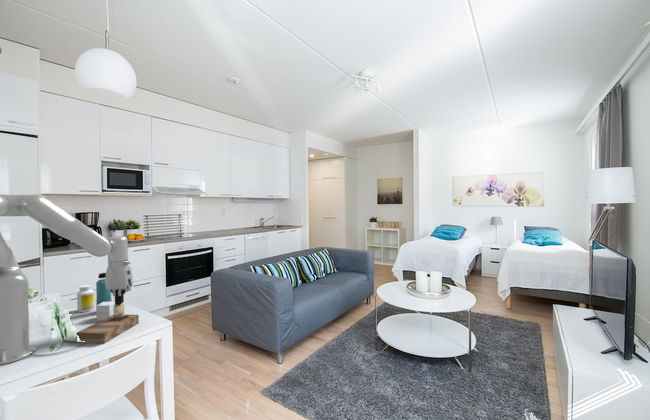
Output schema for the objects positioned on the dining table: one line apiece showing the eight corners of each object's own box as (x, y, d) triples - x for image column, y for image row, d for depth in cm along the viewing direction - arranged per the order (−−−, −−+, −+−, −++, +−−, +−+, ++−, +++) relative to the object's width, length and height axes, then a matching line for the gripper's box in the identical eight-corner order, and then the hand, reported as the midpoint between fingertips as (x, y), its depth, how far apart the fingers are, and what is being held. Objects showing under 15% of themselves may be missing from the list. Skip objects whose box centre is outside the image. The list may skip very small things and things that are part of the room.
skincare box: (116, 315, 150) (116, 300, 150) (109, 320, 144) (109, 305, 144) (103, 316, 150) (103, 301, 149) (96, 320, 143) (95, 305, 143)
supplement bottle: (97, 308, 160) (96, 284, 159) (84, 313, 153) (83, 288, 153) (87, 307, 161) (86, 283, 161) (74, 312, 155) (73, 287, 154)
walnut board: (104, 343, 121) (104, 333, 120) (76, 342, 121) (76, 332, 121) (138, 323, 141) (138, 314, 140) (114, 322, 141) (114, 314, 141)
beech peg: (120, 329, 134) (119, 306, 134) (111, 328, 134) (110, 306, 134) (126, 325, 138) (126, 303, 138) (118, 324, 139) (117, 303, 138)
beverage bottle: (103, 314, 152) (102, 275, 151) (92, 313, 153) (92, 274, 152) (115, 309, 158) (114, 272, 157) (104, 308, 159) (103, 271, 159)
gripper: (139, 262, 139) (140, 301, 140) (109, 261, 140) (110, 300, 141) (127, 265, 131) (129, 307, 132) (95, 265, 132) (97, 306, 133)
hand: (119, 303), depth 136 cm, fingers closed
